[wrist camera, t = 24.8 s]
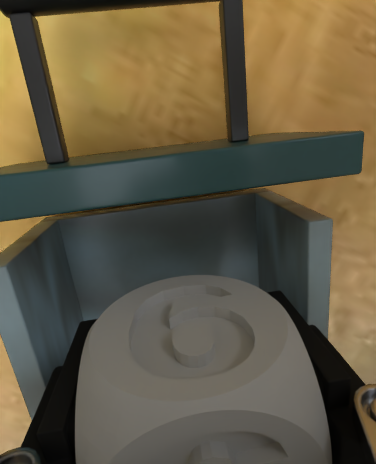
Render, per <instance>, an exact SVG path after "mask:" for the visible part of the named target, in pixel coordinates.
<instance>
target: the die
mask: <svg viewBox="0 0 376 464" xmlns="http://www.w3.org/2000/svg"><path fill="white" fill-rule="evenodd" d="M75 455H76V464H332V449H331V440H330V432H329V427H328V421H327V416H326V411H325V407H324V403H323V399H322V395H321V391H320V388H319V384H318V381H317V378H316V375H315V372H314V369H313V366H312V363H311V360H310V358H309V355H308V352H307V350H306V348H305V345H304V343H303V341H302V338H301V336H300V334H299V332H298V330H297V328H296V326H295V324H294V323H293V321H292V319H291V318H290V316H289V314H288V313H287V312H286V310H285V309H284V308H283V306H282V305H281V304H280V303H279V302H278V301H277V300H276V299H274V298H273V297H272V296H270V295H269V294H268V293H266V292H265V291H263V290H262V289H260V288H258V287H256V286H254V285H252V284H249V283H247V282H244V281H241V280H237V279H233V278H229V277H223V276H215V275H187V276H179V277H172V278H167V279H163V280H159V281H156V282H153V283H150V284H147V285H144V286H142V287H139V288H137V289H135V290H133V291H131V292H129V293H127V294H126V295H124V296H122V297H121V298H119V299H118V300H117V301H115V302H114V303H113V304H111V305H110V306H109V307H108V308H107V309H106V310H105V311H104V312H103V313H102V314H101V316H100V317H99V318H98V319H97V320H96V322H95V323H94V324H93V325H92V327H91V328H90V330H89V332H88V335H87V338H86V340H85V344H84V347H83V352H82V356H81V362H80V367H79V375H78V383H77V393H76V409H75Z"/></svg>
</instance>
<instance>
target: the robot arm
mask: <svg viewBox="0 0 376 464" xmlns="http://www.w3.org/2000/svg"><path fill="white" fill-rule="evenodd" d="M266 293H268V294H269V295H270V296H272V297H273V298H274V299H276V300H277V301H278V302H279V303H280V304H281V305H282V306H283V308H284V309H285V310H286V312H287V313H288V314H289V316H290V318H291V319H292V321H293V323H294V324H295V326H296V328H297V330H298V332H299V334H300V336H301V338H302V341H303V343H304V345H305V348H306V350H307V352H308V355H309V358H310V360H311V363H312V366H313V369H314V372H315V375H316V378H317V381H318V384H319V388H320V391H321V395H322V399H323V403H324V407H325V411H326V416H327V421H328V427H329V432H330V440H331V449H332V464H376V384H367V385H365V383H364V382H363V381H362V380H361V379H360V378H359V376H358V375H357V374H356V373H355V372H354V370H353V369H352V368H351V367H350V366H349V364H348V363H347V362H346V361H345V360H344V358H343V357H342V356H341V355H340V354H339V353H338V351H337V350H336V349H335V348H334V347H333V345H332V344H331V343H330V342H329V341H328V339H327V338H326V337H325V336H324V335H323V334H322V332H321V331H320V330H319V329H318V328H317V327H316V326H315V325H308V324H307V322H306V321H305V320H304V319H303V317H302V316H301V315H300V314H299V312H298V311H297V310H296V309H295V307H294V306H293V305H292V304H291V302H290V301H289V300H288V299H287V298H286V296H285V295H284V294H283V293H282V291H280V290H278V291H272V292H266ZM96 320H97V319H93V320H86V321H81V322H80V323H79V326H78V328H77V331H76V333H75V336H74V339H73V341H72V344H71V346H70V349H69V351H68V354H67V357H66V359H65V362H64V364H63V366H58V367H56V368H55V369H54V371H53V372H52V375H51V377H50V379H49V382H48V384H47V386H46V389H45V391H44V394H43V396H42V398H41V401H40V403H39V405H38V408H37V410H36V412H35V415H34V417H33V420H32V422H31V424H30V427H29V429H28V431H27V434H26V436H25V438H24V441H23V443H22V446H21V447H19V448H16V449H12V450H9V451H7V452H5V453H3V454H2V455H0V464H76V455H75V409H76V393H77V383H78V375H79V367H80V362H81V356H82V352H83V347H84V344H85V340H86V338H87V335H88V332H89V330H90V328H91V327H92V325H93V324H94V323H95V322H96Z"/></svg>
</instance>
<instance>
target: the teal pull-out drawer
mask: <svg viewBox="0 0 376 464" xmlns="http://www.w3.org/2000/svg"><path fill="white" fill-rule="evenodd" d="M218 1H220V3H219V17H220V32H221V47H222V63H223V78H224V93H225V108H226V123H227V138H228V139H220V140H212V141H203V142H195V143H187V144H178V145H170V146H162V147H153V148H145V149H137V150H128V151H120V152H112V153H103V154H95V155H87V156H78V157H70V158H69V156H68V152H67V147H66V143H65V139H64V134H63V130H62V125H61V121H60V117H59V112H58V108H57V104H56V99H55V95H54V91H53V86H52V82H51V78H50V73H49V69H48V65H47V60H46V56H45V51H44V47H43V43H42V38H41V34H40V30H39V25H38V21H37V19H36V18H35V17H37V16H49V15H61V14H73V13H85V12H97V11H109V10H121V9H133V8H145V7H157V6H169V5H181V4H193V3H205V2H218ZM0 10H1V12H2V13H3V14H4V15H5V16H6V17H8V18H10V21H11V25H12V29H13V33H14V37H15V41H16V45H17V49H18V53H19V57H20V61H21V65H22V69H23V73H24V76H25V80H26V84H27V88H28V92H29V96H30V100H31V104H32V108H33V112H34V116H35V120H36V124H37V128H38V132H39V136H40V139H41V143H42V147H43V151H44V155H45V159H46V160H45V161H37V162H28V163H20V164H14V165H9V166H4V167H0V222H3V221H10V220H18V219H25V218H33V217H40V216H48V215H55V214H63V213H70V212H77V211H85V210H92V209H100V208H107V207H115V206H122V205H130V204H137V203H145V202H152V201H160V200H167V199H175V198H182V197H190V196H197V195H204V194H212V193H219V192H227V191H234V190H242V189H249V188H257V187H264V186H272V185H279V184H287V183H294V182H302V181H309V180H317V179H324V178H331V177H339V176H346V175H354V174H359V173H361V170H362V156H363V142H364V132H363V131H329V132H292V133H270V134H262V135H253V136H249V134H248V112H247V90H246V68H245V45H244V23H243V1H242V0H0ZM332 226H333V220H332V219H331V218H329V217H327V216H325V215H322V214H320V213H318V212H316V211H314V210H311V209H309V208H307V207H305V206H303V205H300V204H298V203H296V202H294V201H292V200H289V199H287V198H285V197H283V196H281V195H278V194H276V193H274V192H272V191H270V190H267V189H265V188H263V189H256V190H248V191H241V192H233V193H226V194H219V195H211V196H204V197H196V198H189V199H181V200H174V201H166V202H159V203H152V204H144V205H137V206H129V207H122V208H114V209H107V210H99V211H92V212H85V213H77V214H70V215H62V216H55V217H47V218H45V219H43V220H42V221H41V222H40V223H38V224H37V225H36V226H34V227H33V228H32V229H31V230H29V231H28V232H27V233H25V234H24V235H23V236H22V237H20V238H19V239H18V240H16V241H15V242H14V243H12V244H11V245H10V246H9V247H7V248H6V249H5V250H3V251H2V252H1V253H0V335H1V337H2V340H3V343H4V346H5V348H6V351H7V354H8V356H9V359H10V362H11V365H12V367H13V370H14V373H15V376H16V378H17V381H18V384H19V387H20V389H21V392H22V395H23V397H24V400H25V403H26V406H27V408H28V411H29V414H30V417H31V419H32V420H33V417H34V415H35V412H36V410H37V408H38V405H39V403H40V401H41V398H42V396H43V394H44V391H45V389H46V386H47V384H48V382H49V379H50V377H51V375H52V372H53V371H54V369H55V368H56V367H58V366H63V364H64V362H65V359H66V357H67V354H68V351H69V349H70V346H71V344H72V341H73V339H74V336H75V333H76V331H77V328H78V326H79V323H80V322H81V321H86V320H93V319H98V318H99V317H100V316H101V314H102V313H103V312H104V311H105V310H106V309H107V308H108V307H109V306H110V305H111V304H113V303H114V302H115V301H117V300H118V299H119V298H121V297H122V296H124V295H126V294H127V293H129V292H131V291H133V290H135V289H137V288H139V287H142V286H144V285H147V284H150V283H153V282H156V281H159V280H163V279H167V278H172V277H179V276H187V275H215V276H223V277H229V278H233V279H237V280H241V281H244V282H247V283H249V284H252V285H254V286H256V287H258V288H260V289H262V290H263V291H265V292H272V291H278V290H280V291H282V293H283V294H284V295H285V296H286V298H287V299H288V300H289V301H290V302H291V304H292V305H293V306H294V307H295V309H296V310H297V311H298V312H299V314H300V315H301V316H302V317H303V319H304V320H305V321H306V322H307V324H308V325H315V326H316V327H317V328H318V329H319V330H320V331H321V332H322V334H323V335H324V336H325V337H326V338H327V339H328V319H329V296H330V273H331V249H332Z"/></svg>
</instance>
